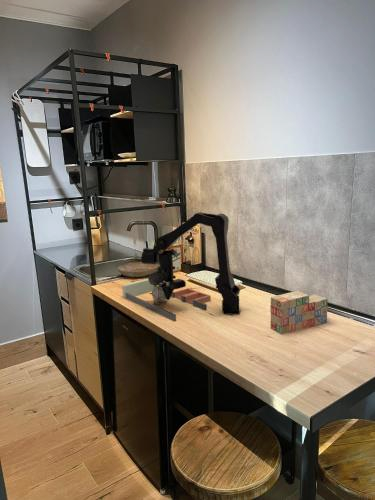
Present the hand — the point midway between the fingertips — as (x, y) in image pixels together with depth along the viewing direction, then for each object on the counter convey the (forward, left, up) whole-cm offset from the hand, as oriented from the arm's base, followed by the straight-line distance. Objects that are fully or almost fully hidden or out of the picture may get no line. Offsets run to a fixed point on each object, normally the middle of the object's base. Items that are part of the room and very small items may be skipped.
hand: (168, 299), depth 160 cm
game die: (+4, -4, -3) cm, 7 cm away
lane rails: (+2, -2, -3) cm, 4 cm away
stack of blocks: (-51, +20, -3) cm, 55 cm away
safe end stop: (+17, -17, -3) cm, 24 cm away
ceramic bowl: (+25, -52, -3) cm, 57 cm away
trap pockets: (-9, -9, -3) cm, 13 cm away
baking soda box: (+6, -58, -3) cm, 58 cm away
